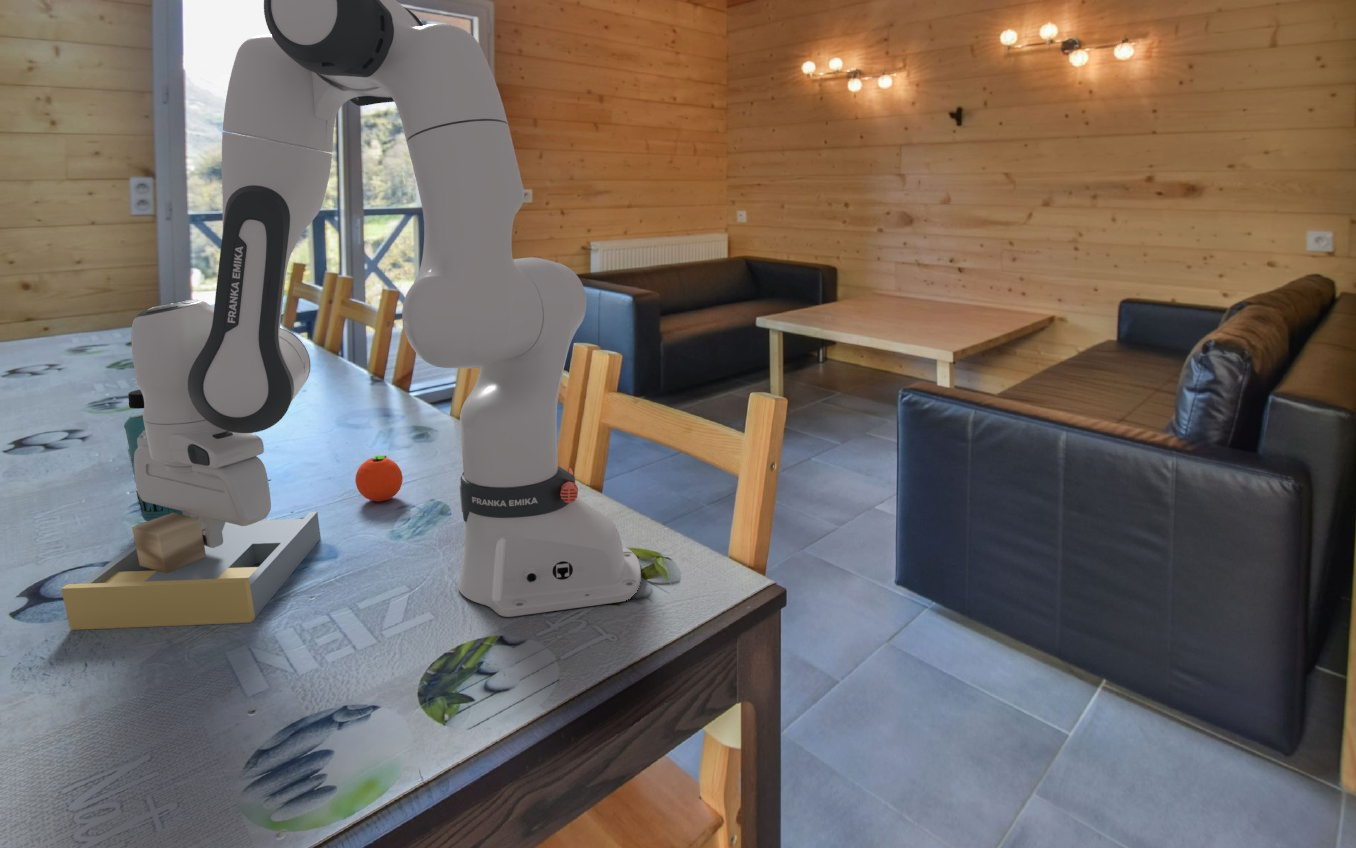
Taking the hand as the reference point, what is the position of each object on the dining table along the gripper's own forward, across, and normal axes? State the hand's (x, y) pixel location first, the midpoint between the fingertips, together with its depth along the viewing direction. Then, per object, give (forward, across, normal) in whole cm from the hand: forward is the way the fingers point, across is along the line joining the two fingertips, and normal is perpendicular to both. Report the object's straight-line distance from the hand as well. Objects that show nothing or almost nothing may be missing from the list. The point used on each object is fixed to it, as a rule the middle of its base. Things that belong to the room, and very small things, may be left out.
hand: (209, 544), depth 99 cm
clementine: (+4, -1, +29) cm, 29 cm away
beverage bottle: (+4, -21, +8) cm, 23 cm away
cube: (+1, -2, -4) cm, 4 cm away
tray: (+4, 0, 0) cm, 4 cm away
